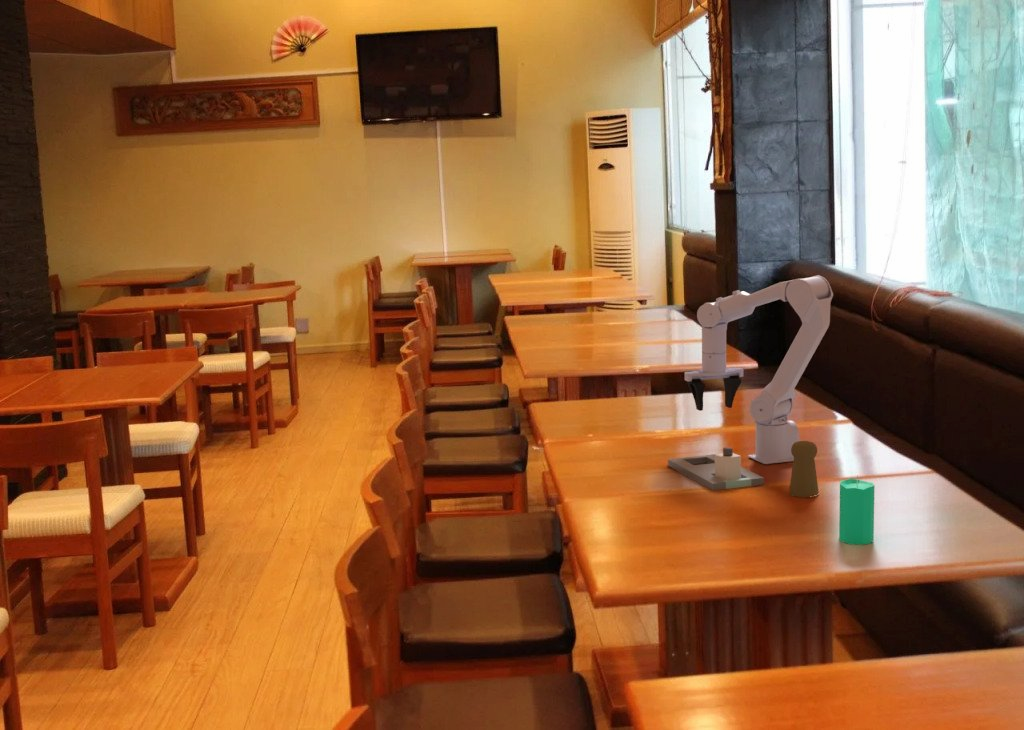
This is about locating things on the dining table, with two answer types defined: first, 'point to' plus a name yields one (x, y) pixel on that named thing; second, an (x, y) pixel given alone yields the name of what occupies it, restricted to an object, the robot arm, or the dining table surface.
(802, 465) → the cork
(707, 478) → the grey board with holes
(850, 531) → the candle
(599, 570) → the dining table surface
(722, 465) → the plug
